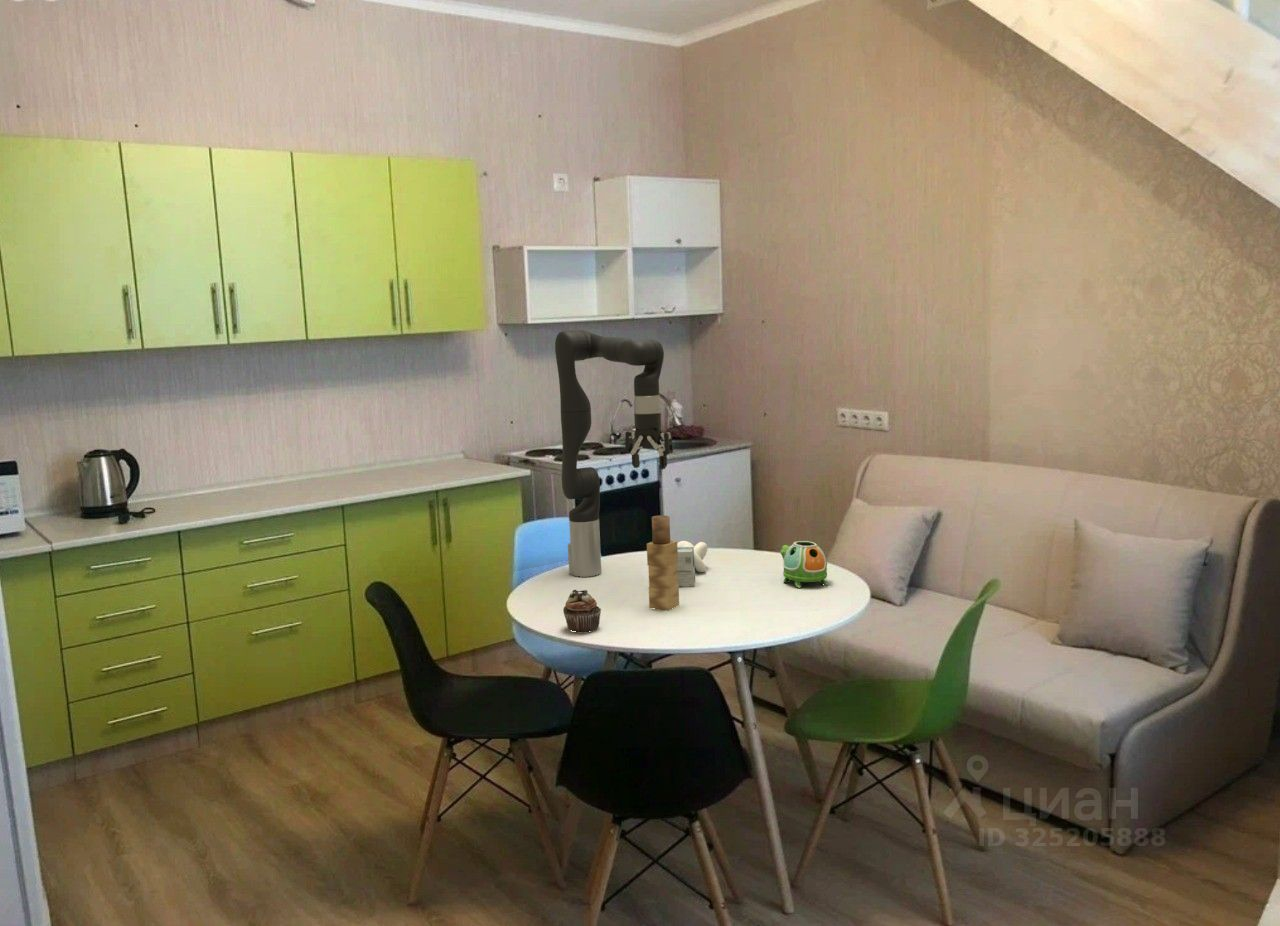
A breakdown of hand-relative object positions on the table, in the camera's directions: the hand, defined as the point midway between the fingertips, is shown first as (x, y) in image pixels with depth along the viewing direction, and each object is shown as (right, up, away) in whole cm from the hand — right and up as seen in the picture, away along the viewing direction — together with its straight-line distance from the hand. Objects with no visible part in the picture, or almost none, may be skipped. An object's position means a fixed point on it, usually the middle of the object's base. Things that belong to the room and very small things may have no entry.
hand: (649, 468), depth 291 cm
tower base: (+4, -38, -10) cm, 39 cm away
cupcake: (-17, -41, -26) cm, 52 cm away
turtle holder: (+45, -34, +10) cm, 57 cm away
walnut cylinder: (+3, -20, -13) cm, 24 cm away
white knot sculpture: (+12, -32, +28) cm, 44 cm away
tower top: (+3, -26, -12) cm, 29 cm away
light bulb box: (+8, -35, +13) cm, 38 cm away
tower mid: (+4, -32, -11) cm, 34 cm away
